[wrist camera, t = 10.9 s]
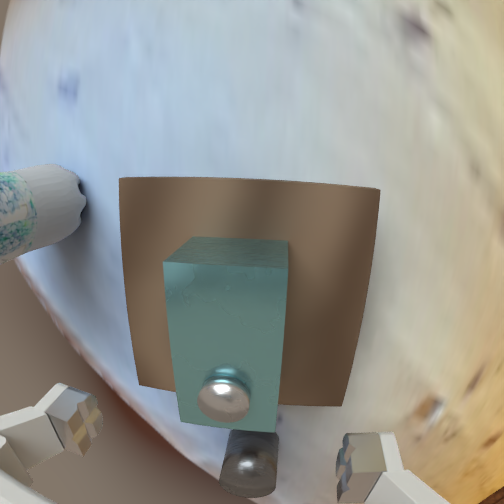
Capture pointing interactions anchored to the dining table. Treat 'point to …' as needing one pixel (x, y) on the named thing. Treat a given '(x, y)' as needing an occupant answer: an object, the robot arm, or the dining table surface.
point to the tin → (250, 463)
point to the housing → (227, 329)
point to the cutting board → (495, 498)
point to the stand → (268, 228)
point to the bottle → (37, 208)
